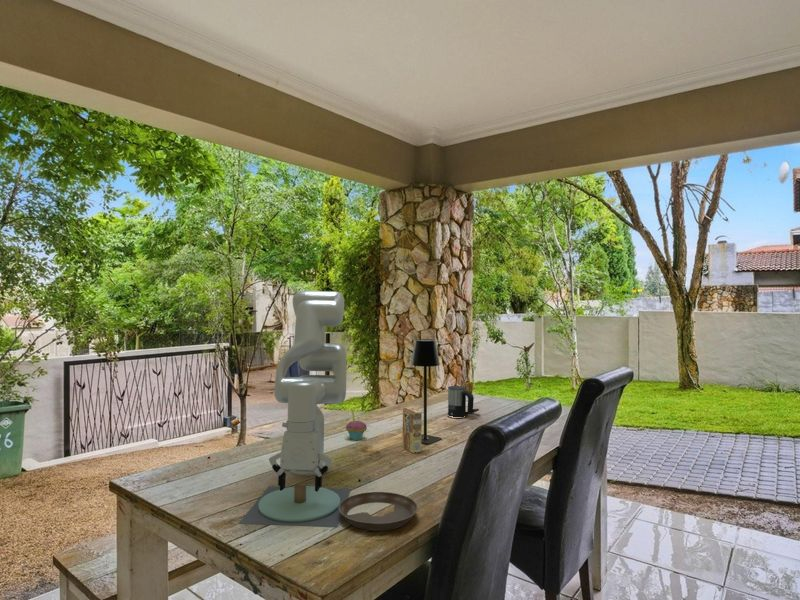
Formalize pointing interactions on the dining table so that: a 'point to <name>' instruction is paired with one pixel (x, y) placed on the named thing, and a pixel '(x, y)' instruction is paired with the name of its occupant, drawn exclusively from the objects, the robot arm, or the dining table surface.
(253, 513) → the mat
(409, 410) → the candy box
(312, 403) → the robot arm
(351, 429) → the cupcake
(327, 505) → the lid
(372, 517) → the plant saucer
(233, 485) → the dining table surface
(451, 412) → the milk frother
